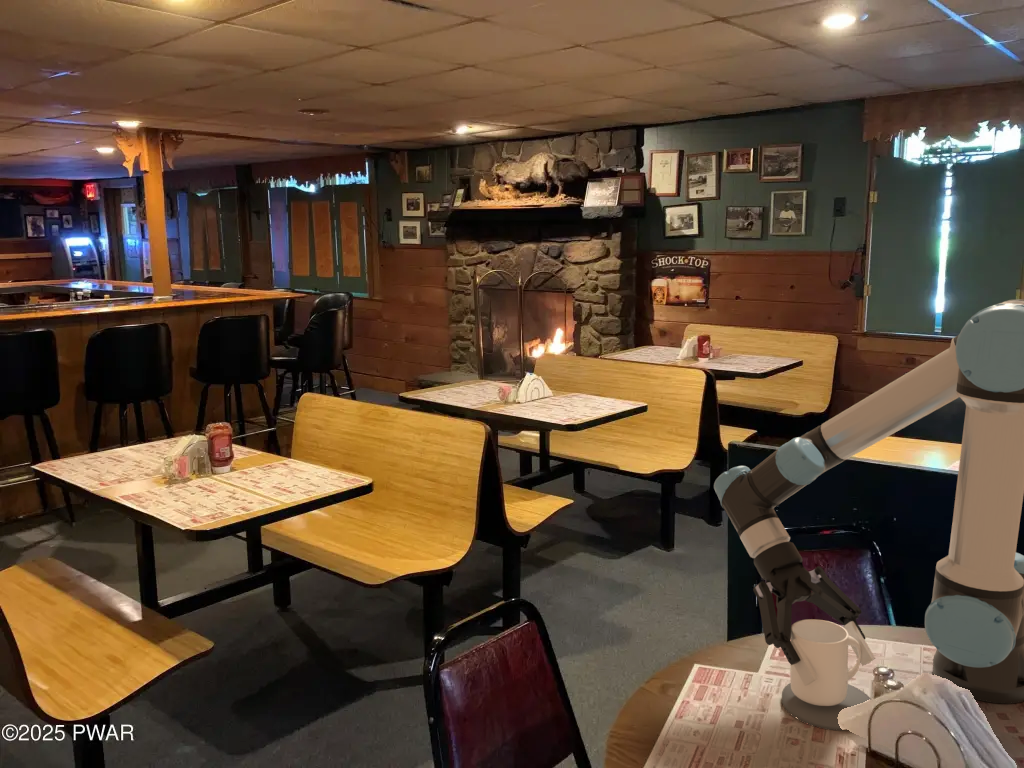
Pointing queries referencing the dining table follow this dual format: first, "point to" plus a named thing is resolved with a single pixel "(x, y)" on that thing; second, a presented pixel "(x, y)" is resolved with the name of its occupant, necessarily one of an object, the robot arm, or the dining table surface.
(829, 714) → the coaster mat
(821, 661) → the mug
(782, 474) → the robot arm
